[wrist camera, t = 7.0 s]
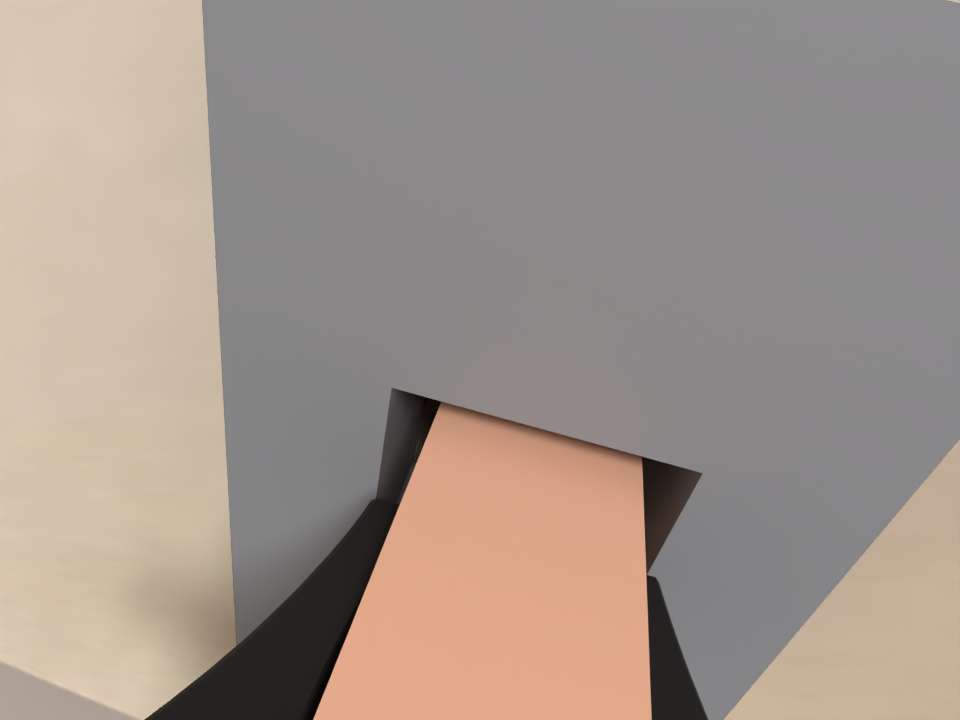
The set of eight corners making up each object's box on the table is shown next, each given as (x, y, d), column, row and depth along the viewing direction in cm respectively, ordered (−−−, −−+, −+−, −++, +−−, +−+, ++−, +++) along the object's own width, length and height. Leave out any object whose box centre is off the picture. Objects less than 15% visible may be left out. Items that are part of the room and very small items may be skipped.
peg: (582, 577, 14) (555, 993, 9) (415, 528, 15) (280, 904, 9) (641, 451, 12) (658, 900, 6) (443, 396, 12) (286, 785, 7)
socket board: (636, 684, 21) (638, 820, 18) (297, 585, 22) (239, 698, 19) (1054, 33, 10) (1266, 74, 7) (327, -136, 11) (191, -176, 7)
